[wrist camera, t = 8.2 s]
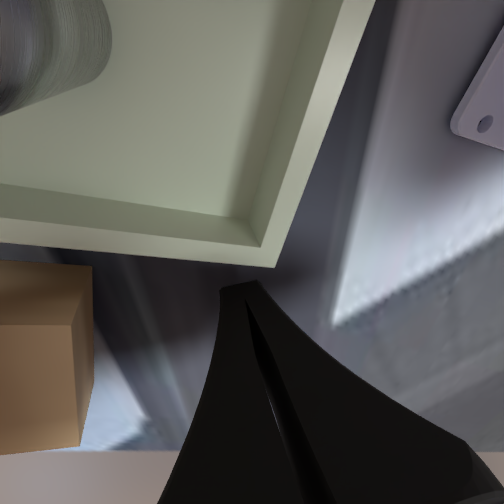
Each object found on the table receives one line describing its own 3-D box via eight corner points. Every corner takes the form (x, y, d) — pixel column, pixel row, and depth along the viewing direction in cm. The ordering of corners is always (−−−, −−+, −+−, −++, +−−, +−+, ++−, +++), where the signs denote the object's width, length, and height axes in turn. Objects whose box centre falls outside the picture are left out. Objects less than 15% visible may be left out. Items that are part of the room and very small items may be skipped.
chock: (93, 261, 10) (70, 325, 7) (95, 375, 13) (79, 446, 10) (-47, 251, 8) (-125, 324, 6) (-8, 380, 11) (-52, 461, 9)
